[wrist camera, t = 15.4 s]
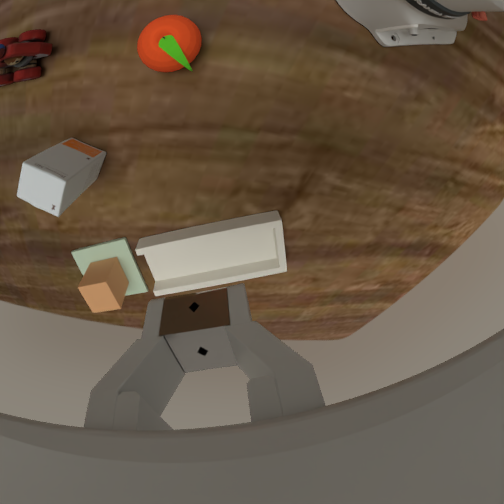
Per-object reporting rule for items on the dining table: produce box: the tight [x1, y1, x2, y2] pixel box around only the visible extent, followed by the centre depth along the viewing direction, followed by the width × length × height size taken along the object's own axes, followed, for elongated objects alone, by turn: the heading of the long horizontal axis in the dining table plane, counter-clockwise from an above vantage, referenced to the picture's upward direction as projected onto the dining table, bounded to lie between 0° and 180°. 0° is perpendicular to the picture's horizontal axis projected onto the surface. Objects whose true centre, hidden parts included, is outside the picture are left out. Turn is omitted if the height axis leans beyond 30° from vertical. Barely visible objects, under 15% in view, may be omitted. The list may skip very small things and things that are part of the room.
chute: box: [135, 210, 287, 296], centre depth 41 cm, size 20×8×3 cm, turn 99°
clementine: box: [137, 15, 202, 72], centre depth 23 cm, size 8×7×7 cm
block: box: [78, 257, 129, 313], centre depth 38 cm, size 5×5×6 cm
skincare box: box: [17, 138, 106, 217], centre depth 27 cm, size 6×4×12 cm
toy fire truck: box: [0, 29, 52, 87], centre depth 17 cm, size 7×12×10 cm, turn 80°
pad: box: [71, 237, 148, 296], centre depth 41 cm, size 10×10×1 cm
